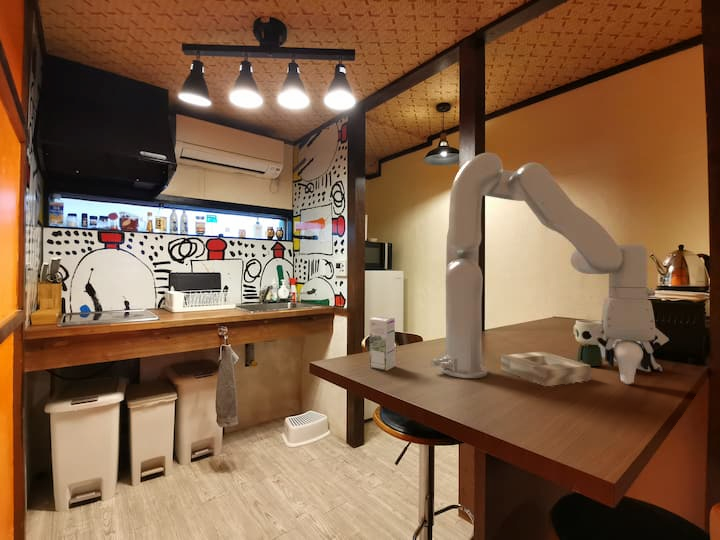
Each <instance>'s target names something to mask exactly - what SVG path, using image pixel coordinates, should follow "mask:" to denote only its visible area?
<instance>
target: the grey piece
mask: <svg viewBox="0 0 720 540" xmlns="http://www.w3.org/2000/svg"><path fill="white" fill-rule="evenodd" d="M618 341H621V340H618V339H616V340H615V342H614V344H615V343H616V342H618ZM633 342H635V343H637V344H638V345H639V346H640V347H641V348H642V350H643V347H642V345H641V343H640V341H633ZM614 344H613V345H614ZM598 346H599V347H600V349H601V355H602V358H604V359H605V347H604V346H603V345H602V344H601V345H598ZM612 347H613V346H612ZM614 362H616V363H617V361H616V360H615V358H614ZM637 369H638V370H640V371H643V372H646V371H647V373H648V372H651V371H652V370H656V371H658V372H659V371H660V372H662V371H663V368H662V366H661V364H658V363H657V362H656V360H655V358H654V356H653V353H651V366H648V370H645V369H644V368H643V367H641V361H640V363H639V364H638V365H637V367H636V370H637Z"/></svg>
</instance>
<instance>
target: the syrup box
mask: <svg viewBox="0 0 720 540" xmlns="http://www.w3.org/2000/svg"><path fill="white" fill-rule="evenodd" d="M395 324H396V320H395V317H389V316H388V317H387V316H373V317H371V318H369V368H370V369H375V370H381V371H389V370H390V369H392V368H395V366H396V355H395V354H396V353H395V352H396V349H395V348H396V345H395V344H396V342H395V341H396V340H395V334H396V330H395V328H396V325H395Z"/></svg>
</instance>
